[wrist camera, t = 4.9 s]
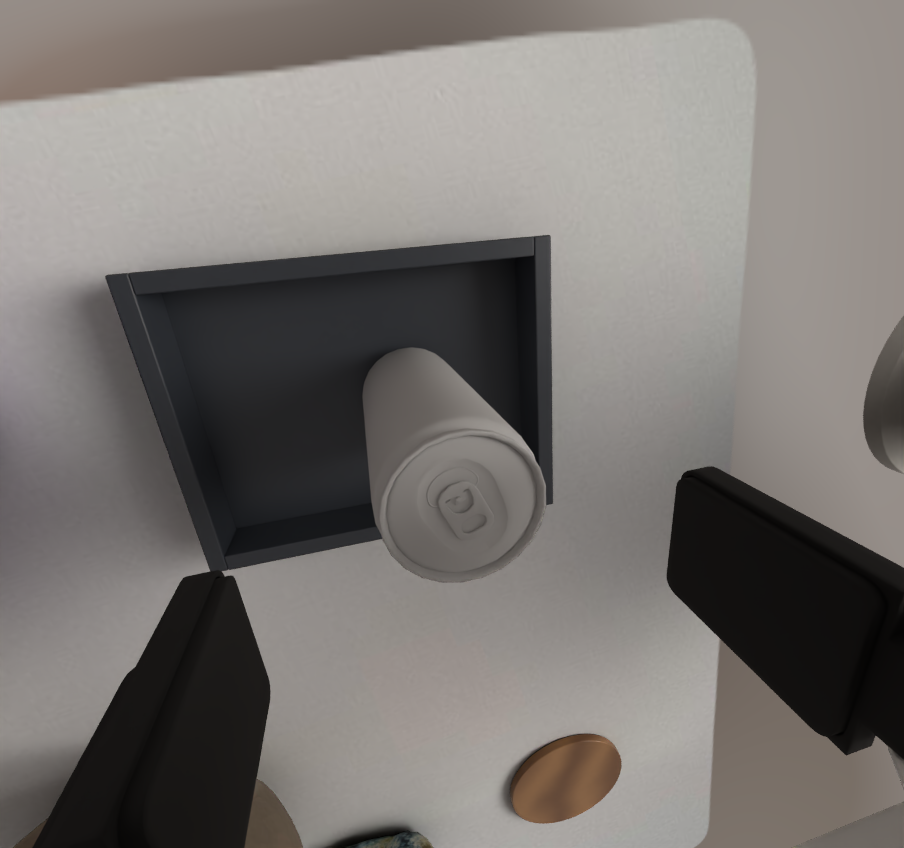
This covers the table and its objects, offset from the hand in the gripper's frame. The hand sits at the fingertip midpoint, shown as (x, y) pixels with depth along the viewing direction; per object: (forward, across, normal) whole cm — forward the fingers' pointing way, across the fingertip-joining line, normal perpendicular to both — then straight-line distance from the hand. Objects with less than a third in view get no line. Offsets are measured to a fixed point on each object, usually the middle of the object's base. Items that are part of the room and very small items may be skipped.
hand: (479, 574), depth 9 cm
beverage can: (+15, 0, 0) cm, 15 cm away
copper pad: (+15, -10, +36) cm, 40 cm away
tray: (+15, +2, 0) cm, 15 cm away
